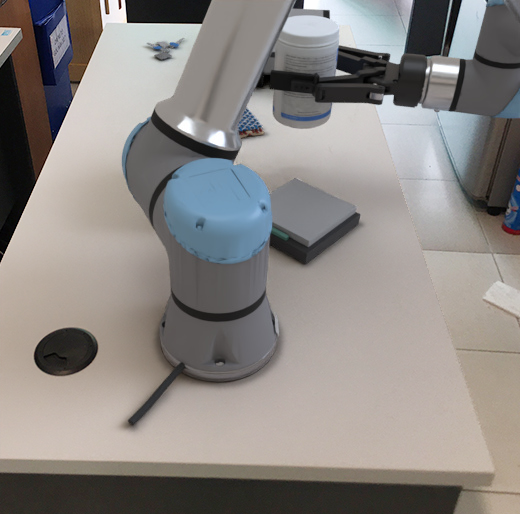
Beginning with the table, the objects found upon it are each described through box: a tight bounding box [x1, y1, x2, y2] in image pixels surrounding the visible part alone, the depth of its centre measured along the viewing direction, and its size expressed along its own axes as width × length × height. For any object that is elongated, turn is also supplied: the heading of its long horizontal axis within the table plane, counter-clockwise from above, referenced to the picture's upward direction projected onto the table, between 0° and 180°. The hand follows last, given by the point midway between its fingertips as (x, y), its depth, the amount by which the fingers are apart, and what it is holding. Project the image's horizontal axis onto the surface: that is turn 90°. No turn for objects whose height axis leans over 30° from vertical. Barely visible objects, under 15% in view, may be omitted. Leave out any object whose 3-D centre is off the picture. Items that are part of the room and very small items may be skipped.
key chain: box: [146, 37, 185, 60], centre depth 155 cm, size 14×8×1 cm, turn 167°
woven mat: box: [237, 106, 265, 139], centre depth 125 cm, size 10×11×2 cm
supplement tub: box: [272, 15, 340, 130], centre depth 98 cm, size 10×10×15 cm
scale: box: [269, 177, 361, 265], centre depth 100 cm, size 14×14×3 cm
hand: (276, 66), depth 99 cm, fingers closed on supplement tub, 9 cm apart
